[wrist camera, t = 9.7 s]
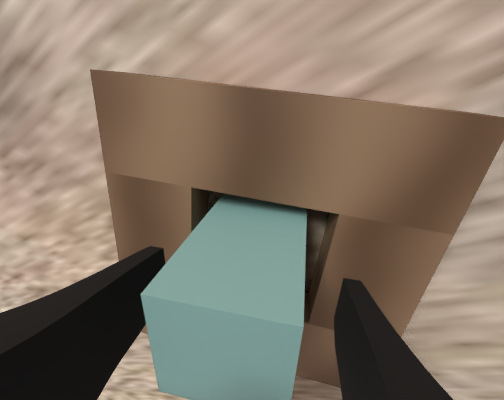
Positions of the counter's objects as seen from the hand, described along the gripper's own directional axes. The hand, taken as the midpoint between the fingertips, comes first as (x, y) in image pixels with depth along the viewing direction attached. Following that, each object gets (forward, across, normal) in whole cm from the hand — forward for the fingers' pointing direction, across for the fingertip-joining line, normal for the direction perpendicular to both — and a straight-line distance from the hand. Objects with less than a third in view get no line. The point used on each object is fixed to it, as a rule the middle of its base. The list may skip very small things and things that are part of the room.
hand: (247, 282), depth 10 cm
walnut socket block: (+3, 0, 0) cm, 3 cm away
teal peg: (+3, 0, 0) cm, 4 cm away
